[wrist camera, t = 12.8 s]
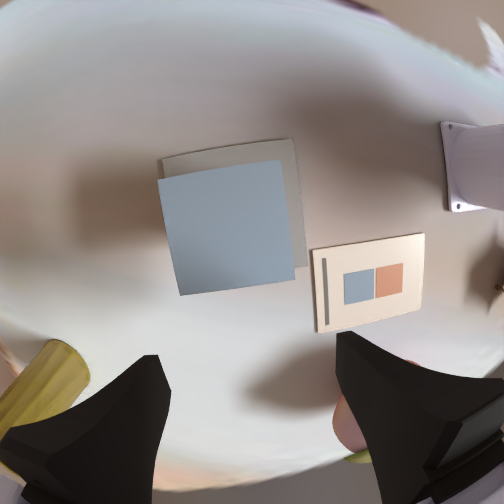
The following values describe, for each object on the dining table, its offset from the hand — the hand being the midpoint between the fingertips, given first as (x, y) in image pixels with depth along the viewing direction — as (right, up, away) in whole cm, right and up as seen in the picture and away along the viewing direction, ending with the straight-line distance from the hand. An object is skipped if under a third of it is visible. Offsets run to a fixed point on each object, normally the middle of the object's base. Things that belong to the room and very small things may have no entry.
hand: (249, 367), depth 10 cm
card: (+10, +2, +11) cm, 15 cm away
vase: (-19, -7, +12) cm, 24 cm away
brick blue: (-1, +6, +3) cm, 7 cm away
